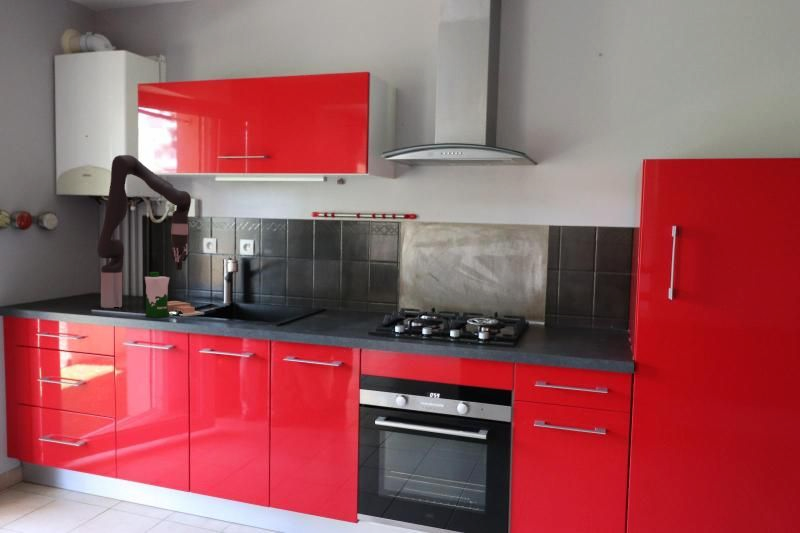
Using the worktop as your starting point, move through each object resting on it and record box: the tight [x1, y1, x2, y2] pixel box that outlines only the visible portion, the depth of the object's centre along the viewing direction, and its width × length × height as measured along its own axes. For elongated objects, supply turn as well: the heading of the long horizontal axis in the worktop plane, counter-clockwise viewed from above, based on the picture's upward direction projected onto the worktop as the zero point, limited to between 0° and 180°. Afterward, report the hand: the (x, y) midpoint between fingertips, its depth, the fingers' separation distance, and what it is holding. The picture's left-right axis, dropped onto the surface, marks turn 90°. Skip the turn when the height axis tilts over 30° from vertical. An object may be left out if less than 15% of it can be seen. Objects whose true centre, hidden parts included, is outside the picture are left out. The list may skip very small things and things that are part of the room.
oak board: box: [168, 300, 191, 313], centre depth 317 cm, size 12×12×4 cm
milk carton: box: [144, 271, 170, 319], centre depth 300 cm, size 9×9×20 cm
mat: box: [179, 310, 205, 317], centre depth 310 cm, size 11×12×1 cm
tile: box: [173, 305, 196, 314], centre depth 310 cm, size 8×6×2 cm
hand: (178, 269), depth 313 cm, fingers closed
